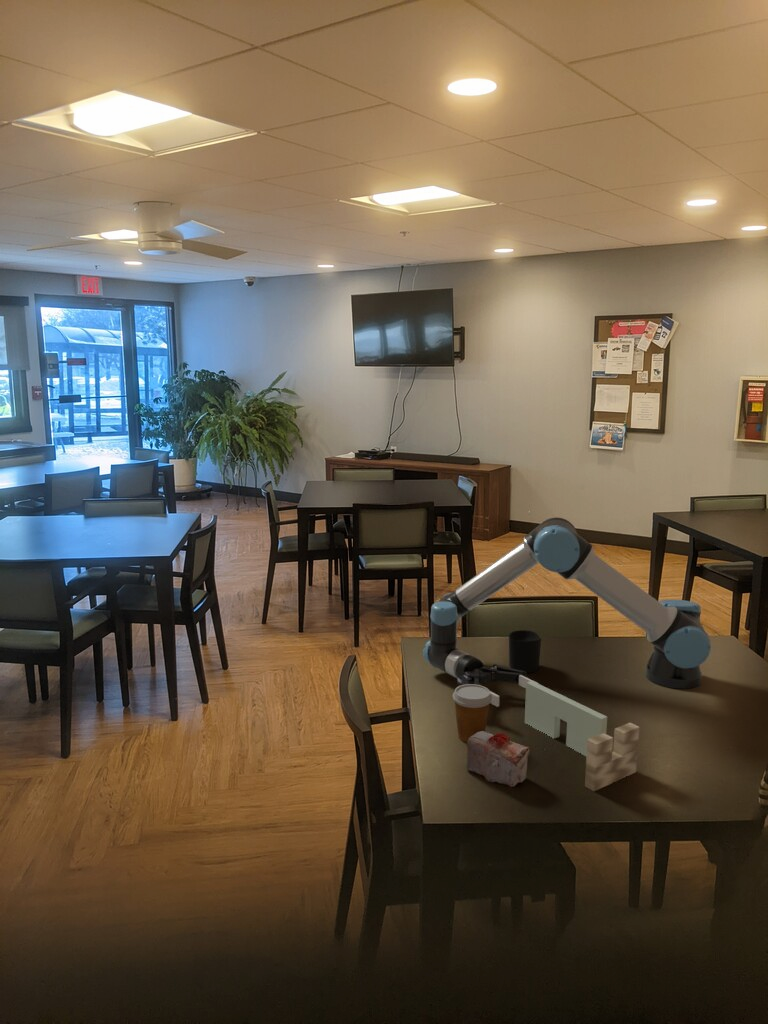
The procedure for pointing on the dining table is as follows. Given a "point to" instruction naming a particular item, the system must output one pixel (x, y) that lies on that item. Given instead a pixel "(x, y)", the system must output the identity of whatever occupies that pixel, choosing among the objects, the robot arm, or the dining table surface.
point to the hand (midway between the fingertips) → (518, 694)
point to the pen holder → (524, 650)
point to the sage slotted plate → (562, 716)
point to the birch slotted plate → (611, 756)
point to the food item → (497, 758)
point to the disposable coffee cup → (471, 709)
